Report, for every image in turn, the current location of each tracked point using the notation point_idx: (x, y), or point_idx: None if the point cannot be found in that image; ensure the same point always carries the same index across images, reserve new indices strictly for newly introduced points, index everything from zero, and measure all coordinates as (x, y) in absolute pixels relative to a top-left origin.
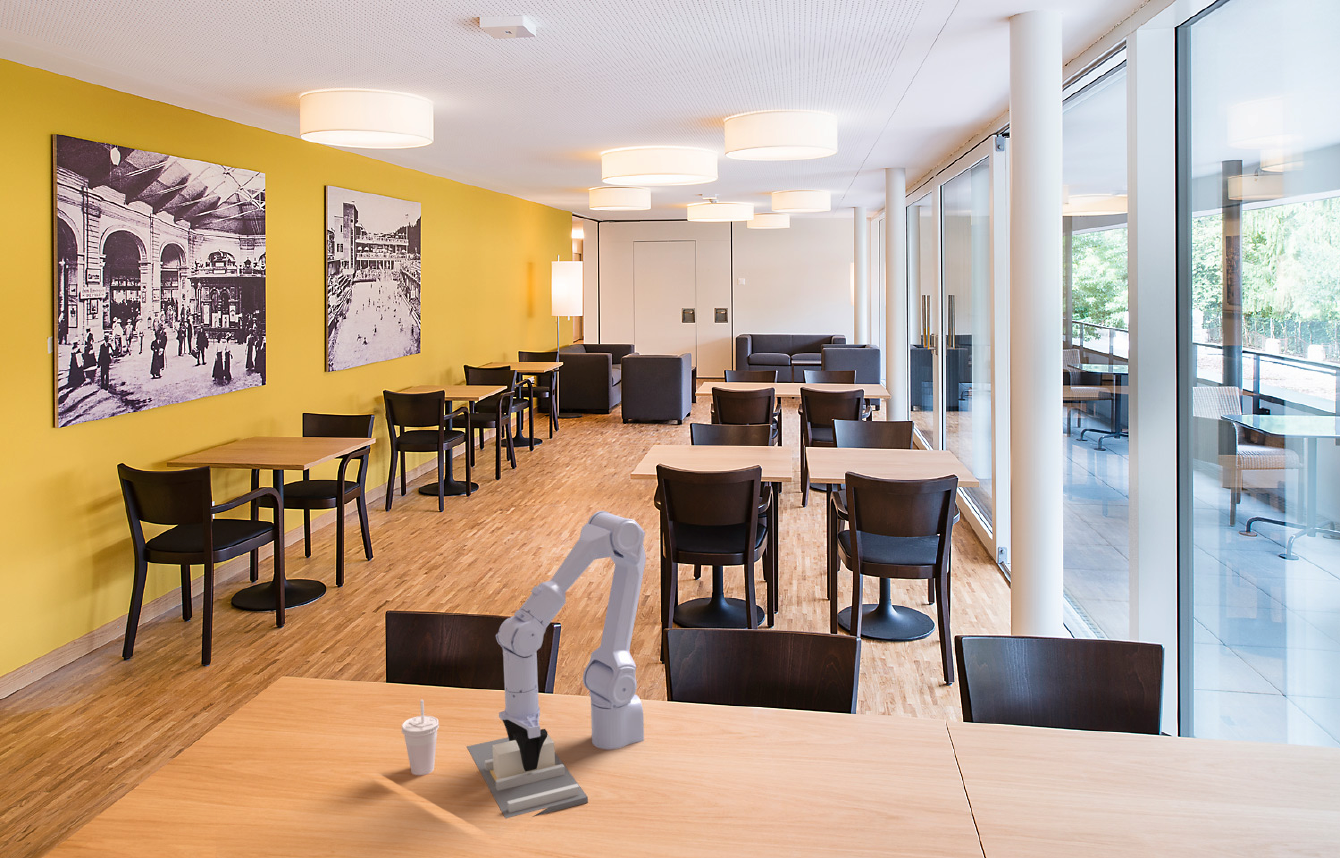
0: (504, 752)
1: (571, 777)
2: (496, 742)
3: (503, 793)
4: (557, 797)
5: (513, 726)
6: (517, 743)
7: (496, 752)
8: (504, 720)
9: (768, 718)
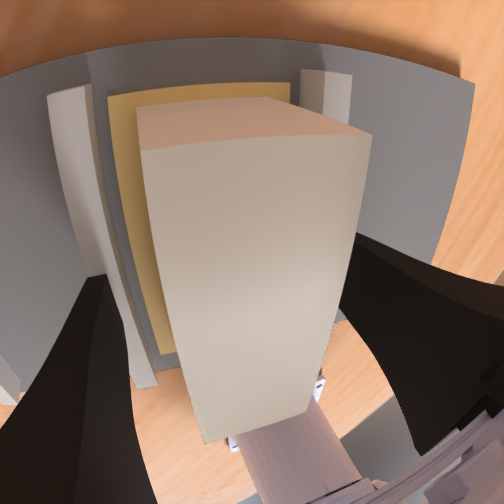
0: (172, 221)
1: None
2: (449, 174)
3: (24, 124)
4: None
5: (426, 334)
6: (64, 435)
7: (222, 139)
8: (494, 329)
9: (236, 495)
